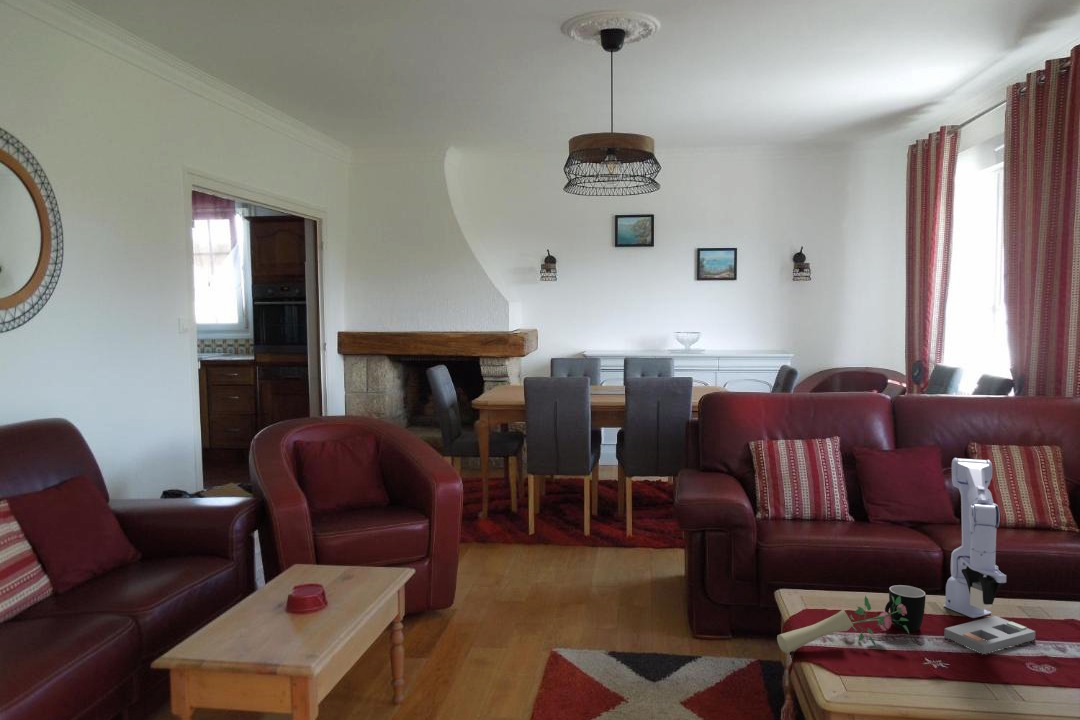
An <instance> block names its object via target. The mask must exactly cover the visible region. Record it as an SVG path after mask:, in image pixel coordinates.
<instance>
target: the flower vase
mask: <svg viewBox="0 0 1080 720" xmlns="http://www.w3.org/2000/svg"><path fill="white" fill-rule="evenodd" d="M892 600H893V605H894V603H895V604H896V605H898V606H897V611H896V612H898V614H899V613H901V614H902V615H905V614H907V611H906V607H905V606H904V605H903V604H900V603H901V597H900V596H899V597H897V599H896V600H895V602H894V598H893V597H892ZM864 606H865V608H862V607H861V606H858V605H857V606H856V607H857V609H856V610H855V611H854V613H855V614H857V615H859V616H858V619H857V621H855V619H854V618H853V616H852V614H850V615H849V616H848V614H847V612H846V611H845V609H844V608H843V609H841V610H840V611H838V612H837V613H835V614H833V615H831V616H830V617H827V618H825V619H823V620H821V621H818V622H816V623H814V624H811V625H808V626H805V627H801V628H797V629H793V630H789V631H787V632H783V633H780V634H777V635H776V636H777V637H776V640H777V644H778V646H779V649H780V650H781V651H782V653H783V654H786V655H787V654H789V653H791V652H793V651H795V650H798V649H799V648H801V647H803V646H805V645H807V644H809V643H811V642H814V641H815V640H817V639H820V638H822V637H826V636H829V635H832V634H835V633H838V632H847V631H848V630H850V629H852V628H853V629H854V631H855V632H857V631H858V630H857V628H855V627H854V624H857V627H859V628H860V629H861V632H860V633H859V636H858V642H859V641H863V639H864V638H865V636H867V634H866V633H865V631H866V632H867V633H868V634H870V635H872V636H873V635H874V633H873V631H872V629H870V628H869V627H868V628H867V630H866V629H865V630H864V629H862V627H861V626H860V625H858V624H859V623H865V622H878V623H877V624H876V626H879V627H880V629H881V630H882V631H885V632H887V630H889V629H891V626H892V625H893V623H892V622H891V614H893V613H896V612H894V610H893V613H890V612H889V614H888V613H887V612H885V611H883V610H882V611H881V613H879V615H877V614H876V617H871V618H867V619H866V616H867V614H868V612H869V611H870V610H872V607H871V604H870V601H869V599H868V597H867V596H866V595H865V597H864ZM894 608H895V607H894ZM866 610H867V611H866ZM903 613H905V614H903ZM861 615H864V618H863V620H859V619H860V617H861ZM850 618H851V619H850ZM851 620H853V621H854V622H853V621H851ZM892 620H893V619H892ZM900 620H901V621H909V620H907V619H905V618H900ZM900 620H899V621H900ZM894 621H895V620H894ZM895 622H896V621H895ZM898 624H899V623H898ZM903 627H904V628H905V629H906V631H905V632H907V633H908V634H910V631H908V628H907V627H906V626H905V625H904V626H903ZM863 633H864V635H865V636H864V635H863ZM867 638H868V639H869V640H870V641H871V643H872V644H873V646H874V647H875V648H877V645H876V642H875V640H874V639H873V638H872V637H869V636H867Z"/></svg>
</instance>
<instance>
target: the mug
mask: <svg viewBox="0 0 1080 720" xmlns="http://www.w3.org/2000/svg"><path fill="white" fill-rule="evenodd" d="M899 596H900V597H901V603H900V604H903V605H904V606H905V607H906V611H907V614H905V613H903V614H905V615H902V614H901V613H899V614H898V612H896V611H897V606H898V605H896V604H895V603H894V605H893V600H892V597H893V598H894V602H895V600H896V599H897V597H899ZM894 607H895V608H894ZM925 608H926V592H925V591H924V590H922V589H921V588H918V587H916V586H915V587H914V586H911V585H902V584H898V585H892V586H890V587H889V589H888V602H887V603H886V604H885V608H884V612H887V613H888V614H890V613H893V610H894V612H896V613H893V614H890V618H891V623H892V625H893V627H894V628H896V629H898V630H899V631H900V630H901V631H903V630H904V632H907V631H906V629H905V628H904V627H903V626H904V625H905V626H906V627H907V628H908V631H909V632H910V631H913V632H918V631H919V630H920V629H921V627H922V623H923V620H924V616H925ZM900 618H905V619H907V620H909V621H901V620H900ZM892 619H893V620H892ZM894 620H895V621H896V622H895V621H894ZM899 620H900V621H899ZM898 623H899V624H898Z"/></svg>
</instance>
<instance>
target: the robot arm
mask: <svg viewBox="0 0 1080 720" xmlns="http://www.w3.org/2000/svg"><path fill="white" fill-rule="evenodd" d="M992 479H993V463H992V461H990V459H975V458H958V457H954V458H953V459H952V461H951V483H952V486H953V487H955V488H957V489H958V490H959V494H960V502H961V503H960V504H961V505H960V509H961V510H960V512H961V517H960V518H961V545H960V546H958V547H957V548H955V549H954V550H953V551H952V552H951V554H950V555H951V556H950V557H951V558H950V575H951V576H950V577H949V578H948V579H947V582H946V584H945V604H943V607H944V608H946V609H949V610H952V611H954V612H957V613H959V614H962V615H964V616H966V617H969V618H972V619H976V618H980V617H984V616H988V615H991V614H992V611H989V610H987V609H984V610H982V609H979V608H977V607H974V606H972V605H970V587H972V583H974V582H979V581H980V583H981V586H982V591H983V602H984V604H985V605H989V604H992V605H993V604H994V600H995V598H996V595H997V594H998V591H999V590H1000V588H1001V587H1002V586H1003V584H1005V583H1007V574H1004V573H1003V572H1001V571H1000V570H999V566H998V565H997V564H996V556H997V551H996V550H997V528H999V526H1000V518H1001V515H1000V509H999V505H998V504H997V503H994V499H993V494H992V492H991V491H990V489H988V488H989V486H990V484H991V480H992Z"/></svg>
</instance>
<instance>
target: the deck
mask: <svg viewBox="0 0 1080 720" xmlns="http://www.w3.org/2000/svg"><path fill="white" fill-rule="evenodd" d="M1005 632H1006V633H1005ZM1007 633H1009V634H1007ZM943 634H944V635H943V637H946V638H945V639H947V638H949V639H951V640H954V641H956V642H958V643H960V644H963V645H965V646H967V647H969V648H971V649H974V650H976V651H978V652H980V653H982V654H981V655H983V654H985V653H989V652H992V651H995V650H998V649H1002V648H1006V647H1009V646H1013V645H1017V644H1020V643H1023V642H1027V641H1031V640H1034V639H1035V640H1036V630H1033V629H1031V628H1028V627H1027V626H1026V625H1025V626H1024V625H1023V624H1019V623H1017V622H1014V621H1010V620H1007V619H1005V618H1002V617H999V616H997V615H992V616H989V617H985V618H980V619H975V620H973V621H968V622H965V623H961V624H957V625H954V626H953V625H952V626H949V627H946V628H945V627H944V633H943ZM949 639H948V640H949ZM983 639H985V640H983ZM951 640H950V641H951ZM986 640H987V641H986ZM956 642H955V643H956ZM958 643H957V644H958ZM960 644H959V645H960ZM965 646H964V647H965ZM1017 646H1018V645H1017ZM967 647H966V648H967ZM969 648H968V649H969ZM971 649H970V650H971ZM974 650H973V651H974ZM976 651H975V652H976ZM978 652H977V653H978ZM980 653H979V654H980ZM992 653H993V652H992ZM989 654H990V653H989ZM985 655H986V654H985Z"/></svg>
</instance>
